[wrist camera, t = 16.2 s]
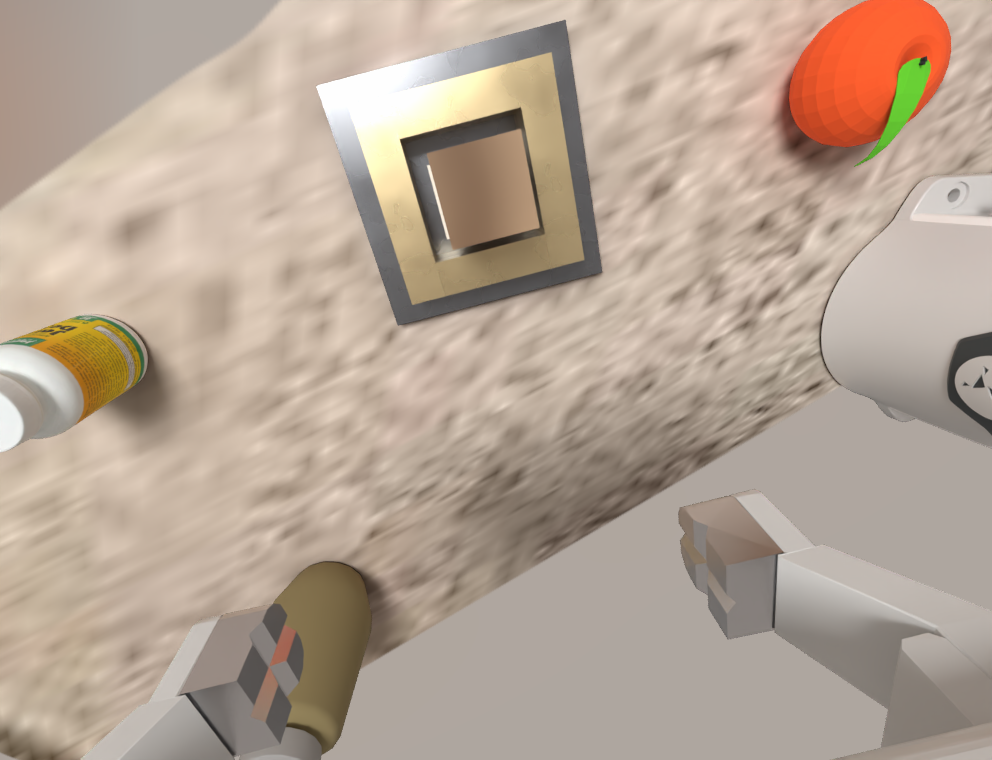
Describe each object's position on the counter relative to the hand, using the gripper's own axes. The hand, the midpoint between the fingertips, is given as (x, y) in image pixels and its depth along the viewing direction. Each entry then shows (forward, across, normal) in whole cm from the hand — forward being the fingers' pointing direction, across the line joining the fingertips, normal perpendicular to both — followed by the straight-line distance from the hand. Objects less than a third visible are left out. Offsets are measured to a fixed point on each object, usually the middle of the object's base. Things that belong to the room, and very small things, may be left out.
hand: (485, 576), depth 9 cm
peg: (+24, -2, -6) cm, 25 cm away
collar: (+24, -2, -6) cm, 25 cm away
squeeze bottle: (+25, +17, +22) cm, 37 cm away
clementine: (+25, -24, -7) cm, 35 cm away
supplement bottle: (+25, +24, -2) cm, 34 cm away
